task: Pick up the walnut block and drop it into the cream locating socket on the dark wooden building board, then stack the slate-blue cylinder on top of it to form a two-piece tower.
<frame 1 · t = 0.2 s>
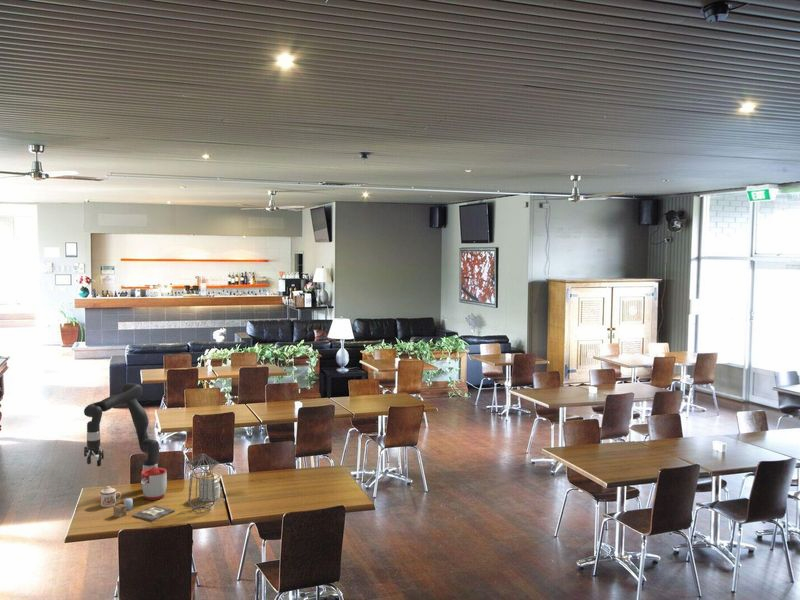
hand: (93, 465, 439), 29 cm above the table, tool pointing down, fingers open, 8 cm apart
teacup with lid: (111, 504, 453), on the table
slate cylinder: (128, 509, 446), on the table
walnut block: (119, 515, 436), on the table
building board: (153, 514, 439), on the table
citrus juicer: (153, 497, 467), on the table
jar: (209, 498, 468), on the table
geometric lantern: (202, 509, 448), on the table
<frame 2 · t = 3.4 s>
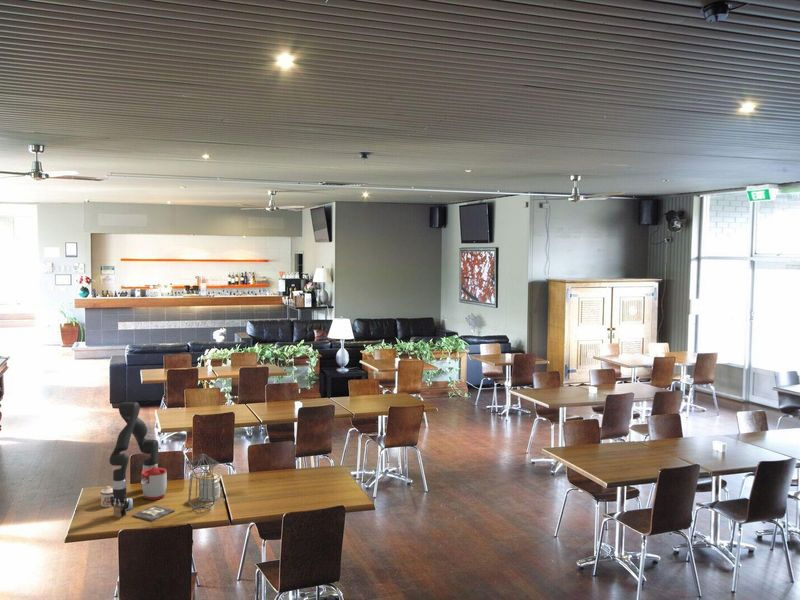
hand: (119, 514, 436), 1 cm above the table, tool pointing down, fingers closed on walnut block, 5 cm apart
walnut block: (119, 515, 436), on the table, touching gripper
everything else where it was.
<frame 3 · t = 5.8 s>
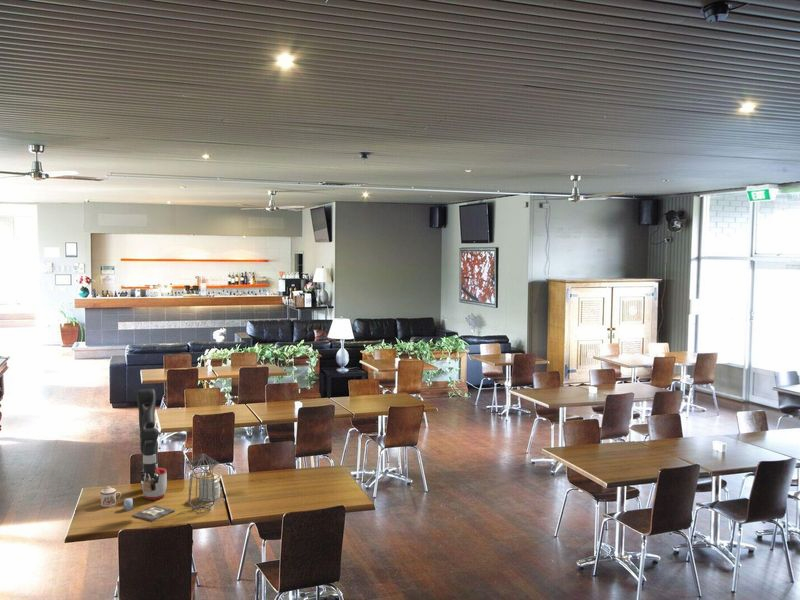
hand: (149, 489, 438), 15 cm above the table, tool pointing down, fingers closed on walnut block, 5 cm apart
walnut block: (149, 490, 438), point 15 cm above the table, touching gripper
everything else where it was.
when the fingers open (3 cm above the table, at t = 8.7 s): walnut block drops 1 cm, resting on building board.
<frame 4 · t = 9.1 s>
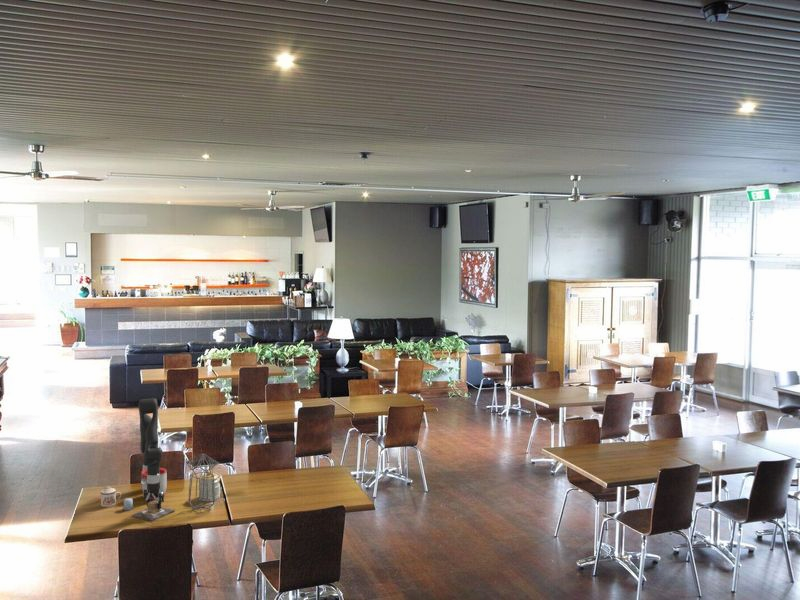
hand: (153, 507, 439), 4 cm above the table, tool pointing down, fingers open, 8 cm apart
walnut block: (153, 512, 439), point 1 cm above the table, touching building board
everything else where it was.
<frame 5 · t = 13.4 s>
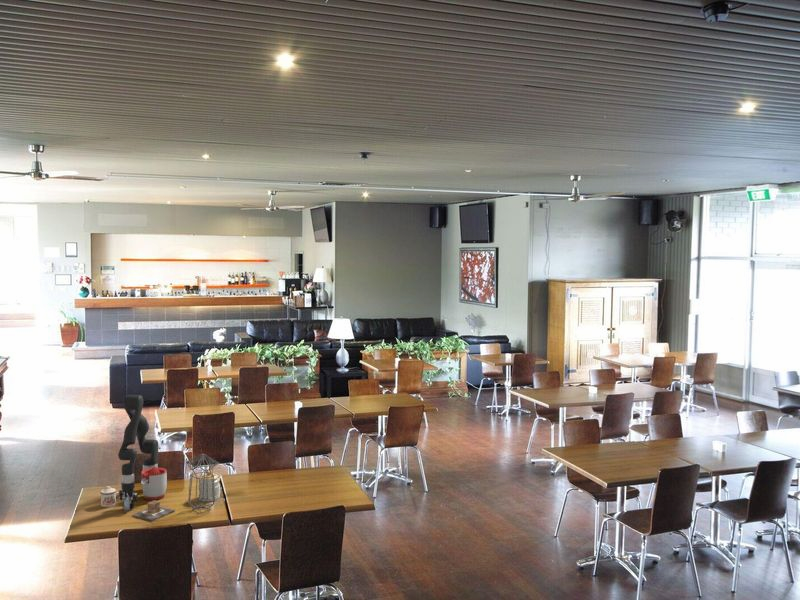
hand: (128, 508, 446), 1 cm above the table, tool pointing down, fingers closed on slate cylinder, 5 cm apart
slate cylinder: (128, 509, 446), on the table, touching gripper
everything else where it was.
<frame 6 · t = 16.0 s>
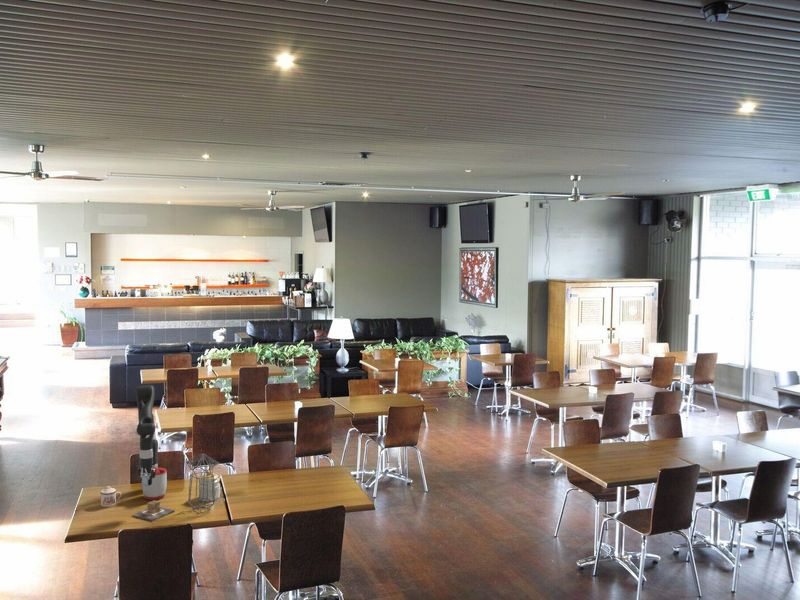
hand: (146, 484, 439), 18 cm above the table, tool pointing down, fingers closed on slate cylinder, 5 cm apart
slate cylinder: (146, 485, 439), point 17 cm above the table, touching gripper
everything else where it was.
when the fingers open (9 cm above the table, at t = 18.8 s): slate cylinder stays where it is, resting on walnut block.
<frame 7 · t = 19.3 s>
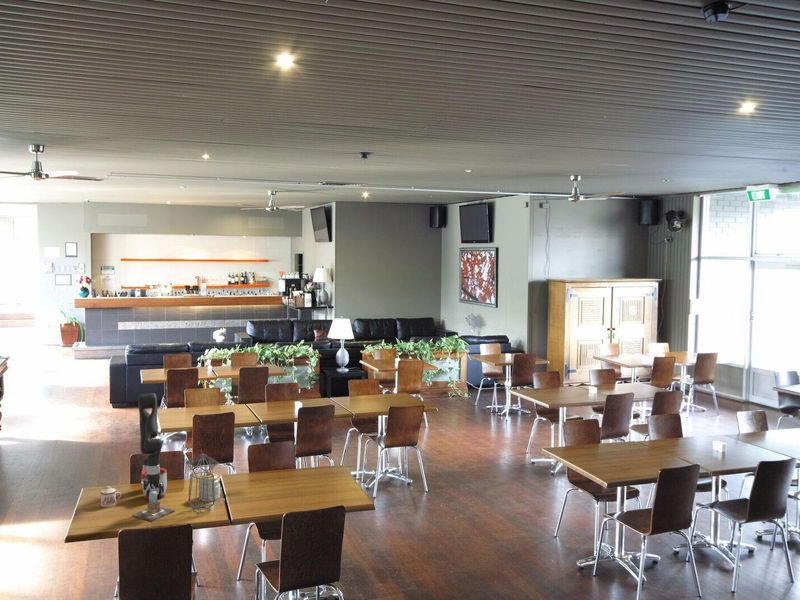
hand: (153, 498, 439), 10 cm above the table, tool pointing down, fingers open, 8 cm apart
slate cylinder: (153, 502, 439), point 7 cm above the table, touching walnut block
walnut block: (153, 512, 439), point 1 cm above the table, touching building board, slate cylinder
everything else where it was.
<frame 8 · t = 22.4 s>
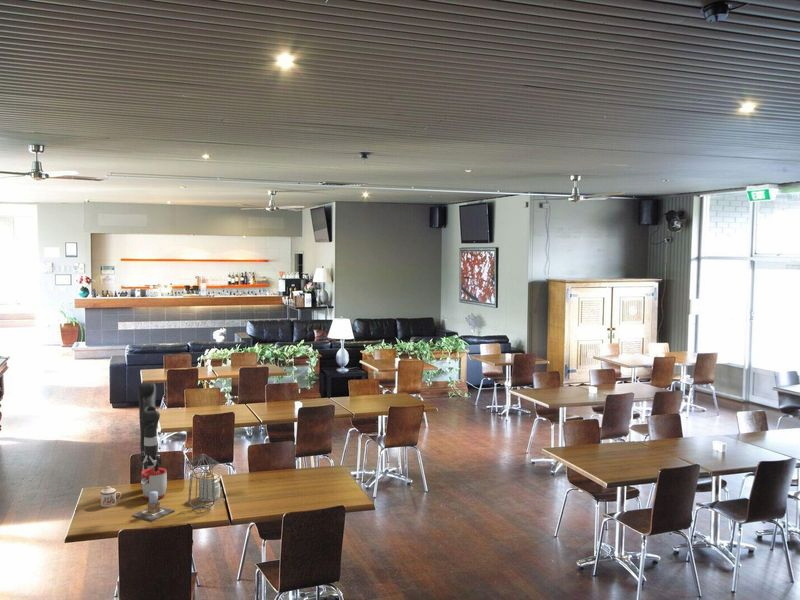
hand: (150, 470, 439), 26 cm above the table, tool pointing down, fingers open, 8 cm apart
nothing on the table moved.
at the end: walnut block 0.0 cm off-centre on the building board, point 1.2 cm above the building board's base; slate cylinder 0.1 cm off-centre on the walnut block, point 6.0 cm above the walnut block's base; slate cylinder tilted 0° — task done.
